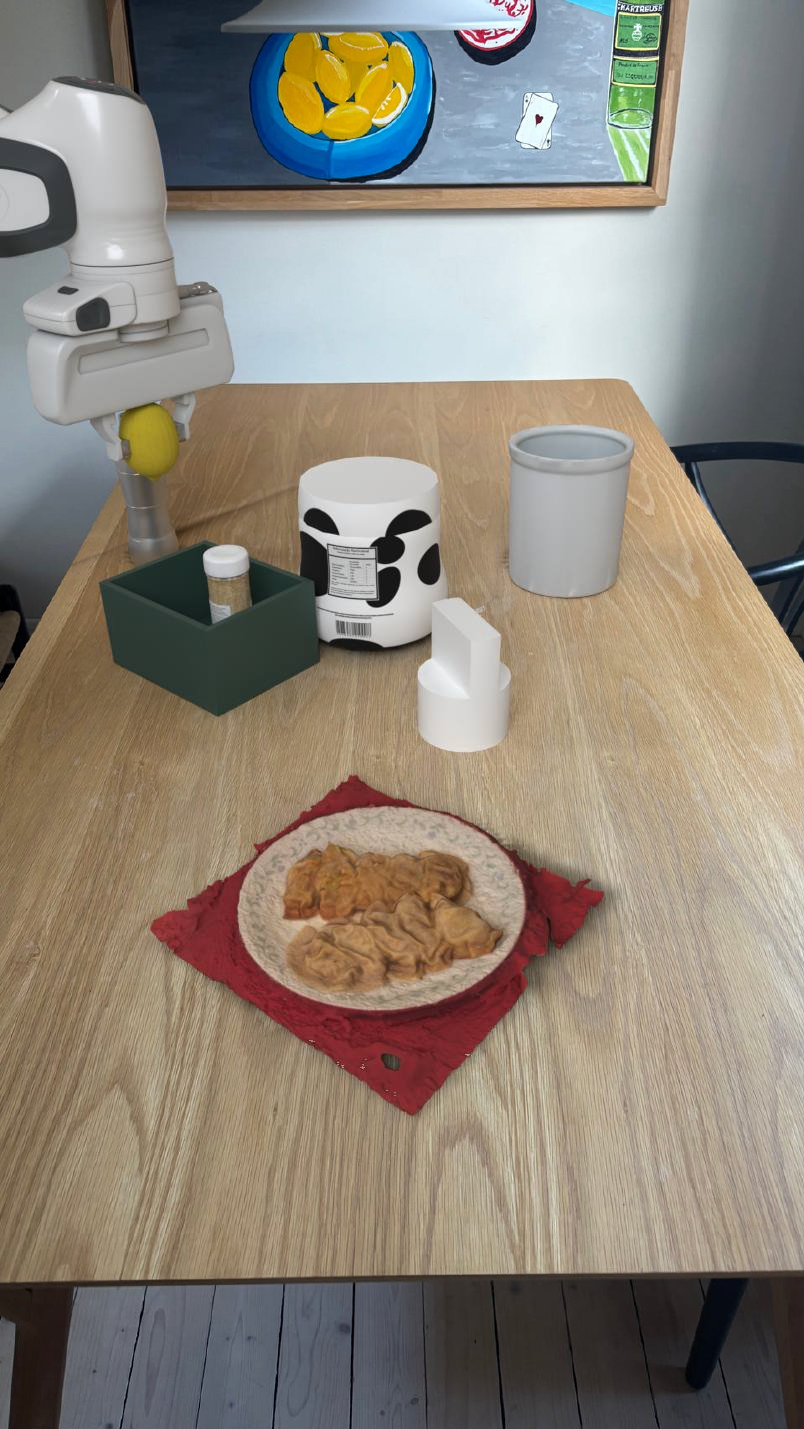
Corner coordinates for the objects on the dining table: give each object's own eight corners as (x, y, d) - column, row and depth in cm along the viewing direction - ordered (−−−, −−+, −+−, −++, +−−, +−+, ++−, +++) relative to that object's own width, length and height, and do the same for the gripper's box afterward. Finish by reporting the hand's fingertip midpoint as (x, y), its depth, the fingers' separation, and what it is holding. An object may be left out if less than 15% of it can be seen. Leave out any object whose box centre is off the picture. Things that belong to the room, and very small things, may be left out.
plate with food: (354, 790, 93) (352, 759, 91) (603, 906, 79) (606, 872, 77) (148, 942, 78) (140, 908, 76) (411, 1119, 64) (409, 1083, 62)
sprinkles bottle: (265, 671, 110) (254, 555, 103) (225, 681, 108) (210, 564, 101) (250, 653, 113) (238, 539, 106) (211, 663, 112) (196, 548, 104)
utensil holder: (485, 561, 135) (490, 429, 126) (587, 546, 139) (599, 417, 130) (531, 608, 123) (540, 466, 114) (641, 590, 127) (658, 452, 118)
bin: (113, 662, 114) (98, 581, 108) (214, 616, 123) (205, 539, 118) (218, 717, 104) (207, 631, 98) (319, 662, 113) (314, 580, 108)
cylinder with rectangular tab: (403, 714, 104) (401, 607, 97) (482, 695, 107) (486, 590, 100) (441, 761, 97) (442, 649, 90) (524, 739, 100) (531, 629, 93)
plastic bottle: (123, 575, 133) (96, 421, 122) (143, 554, 139) (118, 405, 128) (170, 578, 132) (147, 423, 121) (188, 556, 138) (168, 407, 127)
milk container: (407, 585, 129) (406, 444, 120) (474, 643, 116) (478, 491, 106) (277, 613, 123) (265, 467, 113) (332, 678, 110) (323, 520, 100)
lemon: (163, 468, 102) (152, 386, 98) (195, 481, 99) (185, 397, 95) (114, 481, 99) (100, 398, 95) (145, 496, 96) (132, 410, 91)
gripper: (197, 274, 98) (212, 418, 106) (4, 308, 85) (37, 470, 93) (241, 282, 95) (254, 430, 102) (46, 318, 82) (77, 485, 89)
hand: (149, 449), depth 97 cm, fingers closed on lemon, 5 cm apart
